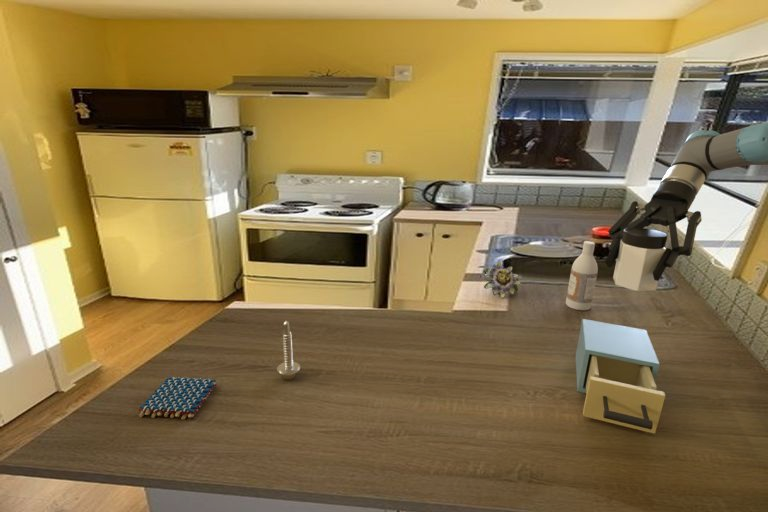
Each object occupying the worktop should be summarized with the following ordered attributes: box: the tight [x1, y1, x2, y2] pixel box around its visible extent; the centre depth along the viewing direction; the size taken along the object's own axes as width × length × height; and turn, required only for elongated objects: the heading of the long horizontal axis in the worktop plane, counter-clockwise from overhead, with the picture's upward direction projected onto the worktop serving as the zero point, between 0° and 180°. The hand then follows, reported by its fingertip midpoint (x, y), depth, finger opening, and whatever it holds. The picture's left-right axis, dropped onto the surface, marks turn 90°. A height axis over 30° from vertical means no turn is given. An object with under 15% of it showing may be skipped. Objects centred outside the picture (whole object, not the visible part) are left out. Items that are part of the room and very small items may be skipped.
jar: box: [612, 227, 668, 292], centre depth 92 cm, size 9×8×12 cm
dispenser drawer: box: [582, 354, 666, 435], centre depth 79 cm, size 19×12×8 cm, turn 158°
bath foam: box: [565, 240, 599, 311], centre depth 124 cm, size 7×7×20 cm
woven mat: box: [138, 376, 218, 421], centre depth 81 cm, size 10×11×2 cm
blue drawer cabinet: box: [574, 318, 661, 394], centre depth 90 cm, size 15×13×10 cm
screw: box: [276, 320, 302, 381], centre depth 87 cm, size 13×5×5 cm
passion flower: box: [482, 261, 522, 299], centre depth 135 cm, size 11×11×12 cm
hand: (630, 270), depth 91 cm, fingers closed on jar, 9 cm apart
